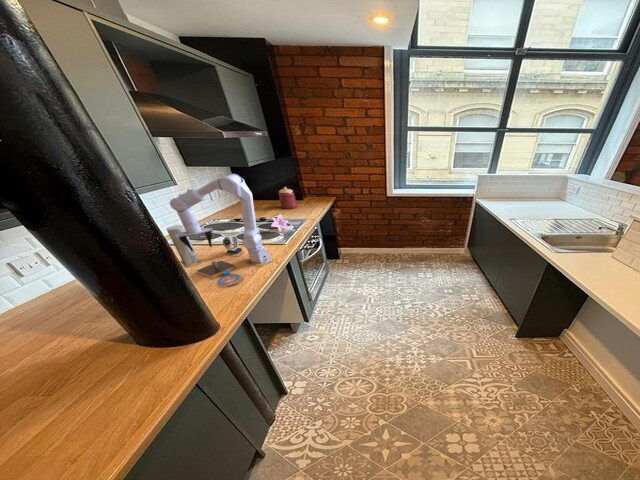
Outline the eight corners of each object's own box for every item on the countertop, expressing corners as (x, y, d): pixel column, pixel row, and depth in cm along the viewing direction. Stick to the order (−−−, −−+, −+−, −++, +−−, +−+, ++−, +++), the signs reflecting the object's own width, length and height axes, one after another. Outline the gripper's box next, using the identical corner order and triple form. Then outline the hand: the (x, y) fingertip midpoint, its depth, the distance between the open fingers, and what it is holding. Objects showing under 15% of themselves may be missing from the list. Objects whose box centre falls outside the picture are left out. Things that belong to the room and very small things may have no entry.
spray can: (186, 261, 131) (169, 225, 121) (201, 259, 133) (185, 224, 123) (182, 267, 126) (163, 230, 116) (197, 265, 128) (180, 228, 118)
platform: (236, 267, 127) (233, 259, 124) (212, 278, 117) (208, 269, 115) (221, 262, 131) (218, 254, 128) (197, 273, 121) (192, 264, 119)
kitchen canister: (283, 205, 227) (278, 185, 218) (298, 205, 229) (294, 185, 220) (279, 209, 216) (274, 188, 207) (295, 209, 218) (291, 188, 209)
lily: (270, 234, 169) (272, 223, 164) (268, 223, 175) (270, 212, 170) (289, 236, 177) (291, 226, 171) (287, 225, 183) (289, 215, 177)
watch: (226, 257, 137) (218, 239, 131) (236, 251, 143) (229, 233, 138) (235, 257, 136) (228, 239, 131) (245, 251, 143) (238, 233, 138)
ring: (243, 282, 115) (241, 277, 114) (221, 289, 110) (218, 283, 109) (238, 272, 123) (236, 267, 121) (216, 278, 118) (214, 273, 116)
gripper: (207, 217, 124) (217, 242, 131) (169, 223, 116) (182, 249, 123) (209, 221, 120) (219, 246, 127) (170, 227, 111) (183, 254, 118)
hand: (201, 248), depth 124 cm, fingers open, 7 cm apart
